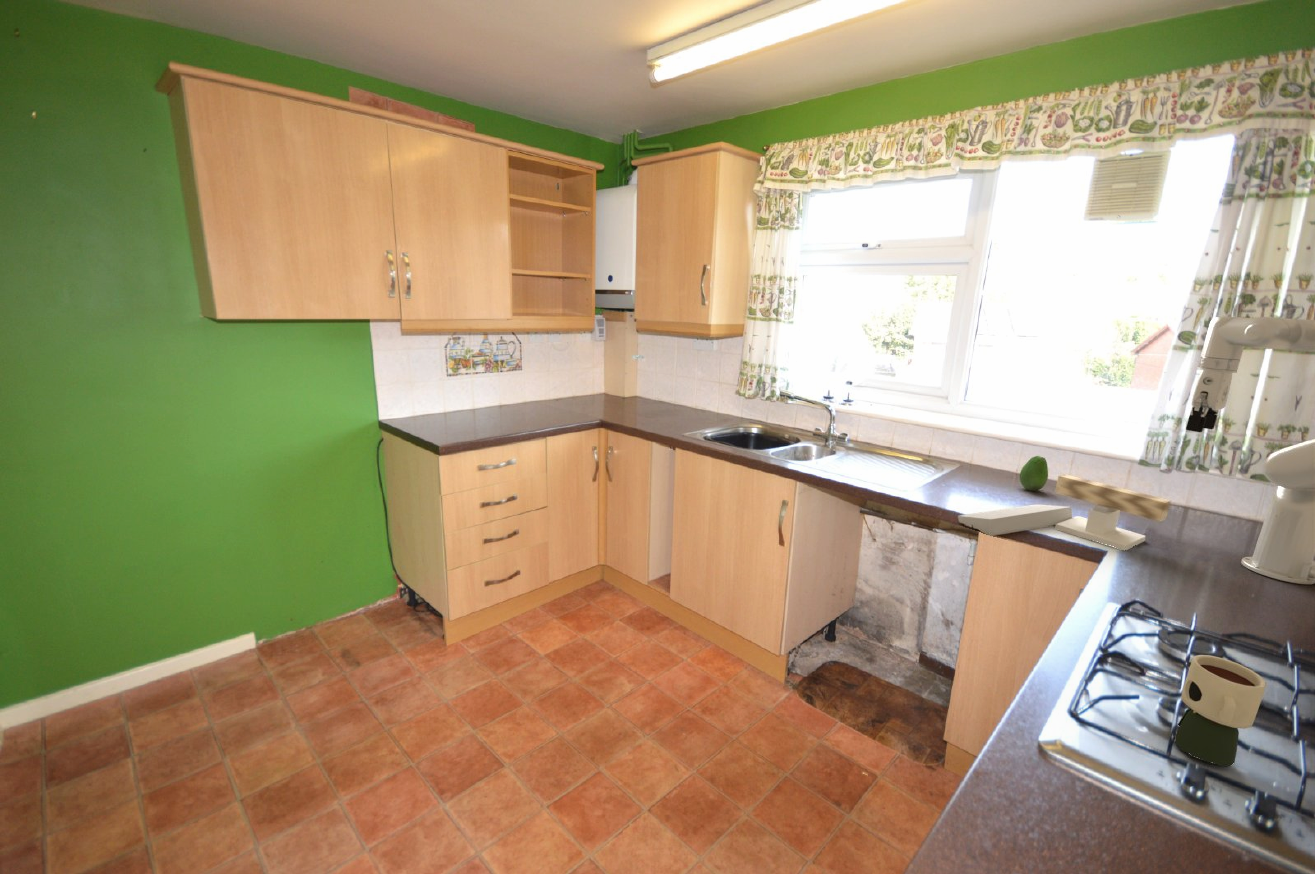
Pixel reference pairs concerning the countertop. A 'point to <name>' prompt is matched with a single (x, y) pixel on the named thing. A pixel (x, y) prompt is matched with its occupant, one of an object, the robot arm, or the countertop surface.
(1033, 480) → the fruit
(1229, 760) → the character mug
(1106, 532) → the balance stand
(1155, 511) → the beech batten
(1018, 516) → the white flat block
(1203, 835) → the countertop surface
